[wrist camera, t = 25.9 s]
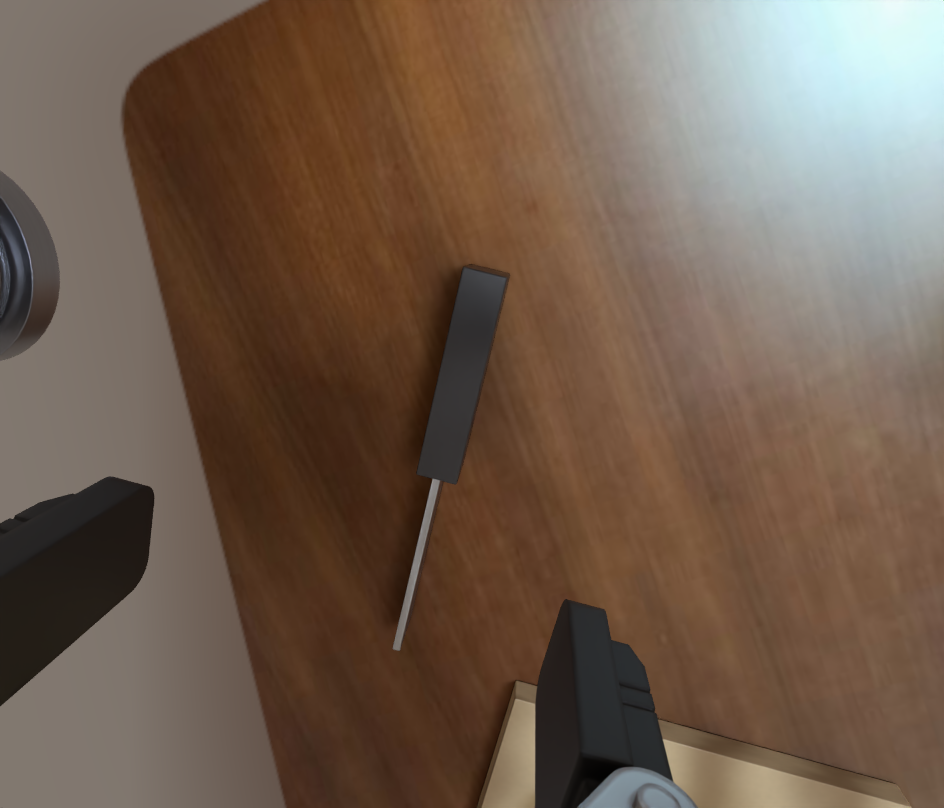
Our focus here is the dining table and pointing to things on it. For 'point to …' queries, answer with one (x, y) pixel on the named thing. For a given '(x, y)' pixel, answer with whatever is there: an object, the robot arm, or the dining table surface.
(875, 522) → the dining table surface
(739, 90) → the dining table surface
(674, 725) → the board
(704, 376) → the dining table surface
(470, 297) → the screwdriver
